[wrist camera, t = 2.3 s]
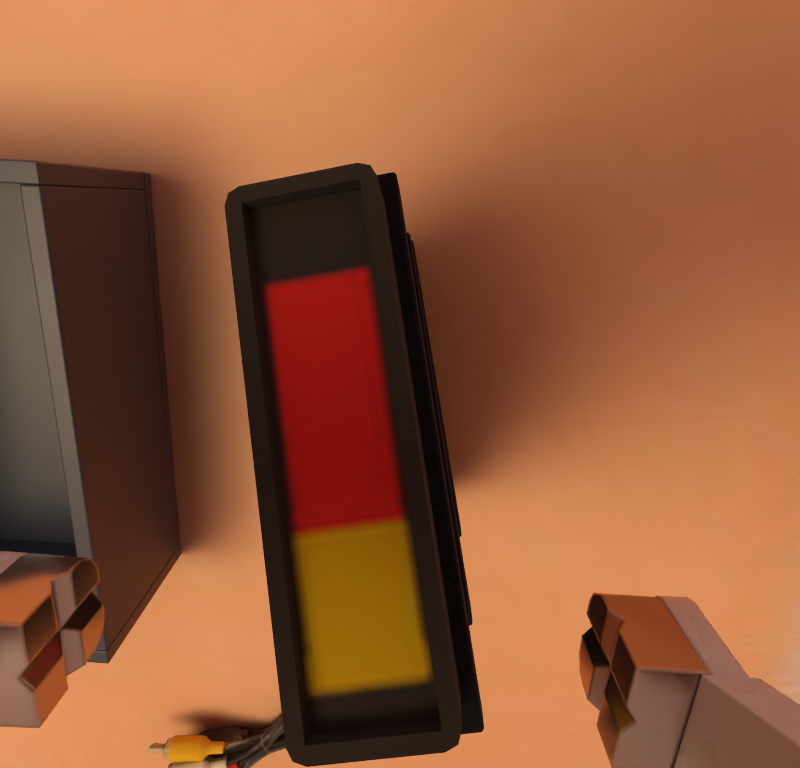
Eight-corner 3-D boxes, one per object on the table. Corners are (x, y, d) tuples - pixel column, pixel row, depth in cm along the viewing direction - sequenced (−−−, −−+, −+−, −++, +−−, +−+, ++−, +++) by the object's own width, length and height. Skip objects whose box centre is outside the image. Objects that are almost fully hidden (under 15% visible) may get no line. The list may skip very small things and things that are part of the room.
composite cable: (328, 685, 28) (320, 729, 26) (355, 750, 30) (350, 796, 28) (157, 718, 30) (135, 763, 27) (191, 779, 31) (172, 826, 29)
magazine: (384, 580, 24) (271, 791, 9) (344, 297, 26) (196, 96, 11) (468, 569, 24) (488, 770, 9) (422, 283, 26) (375, 58, 11)
